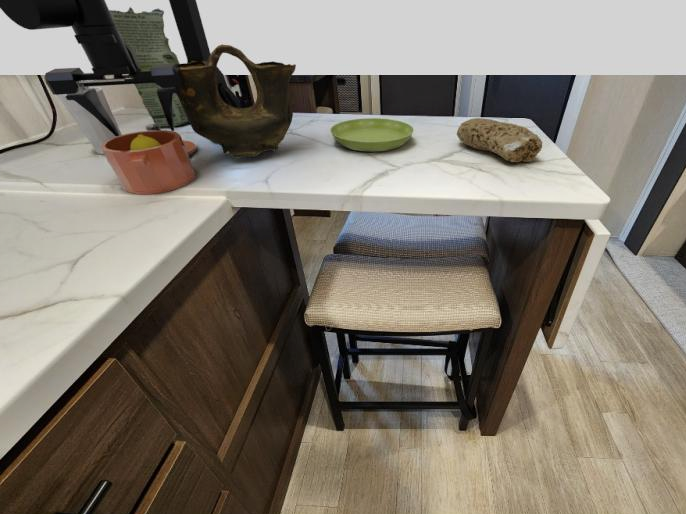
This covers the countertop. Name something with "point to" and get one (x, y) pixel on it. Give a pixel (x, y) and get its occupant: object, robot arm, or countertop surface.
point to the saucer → (372, 134)
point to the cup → (91, 120)
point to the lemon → (143, 143)
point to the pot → (150, 162)
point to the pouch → (149, 57)
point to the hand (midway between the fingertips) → (146, 132)
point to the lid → (188, 145)
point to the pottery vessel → (238, 123)
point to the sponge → (500, 139)
